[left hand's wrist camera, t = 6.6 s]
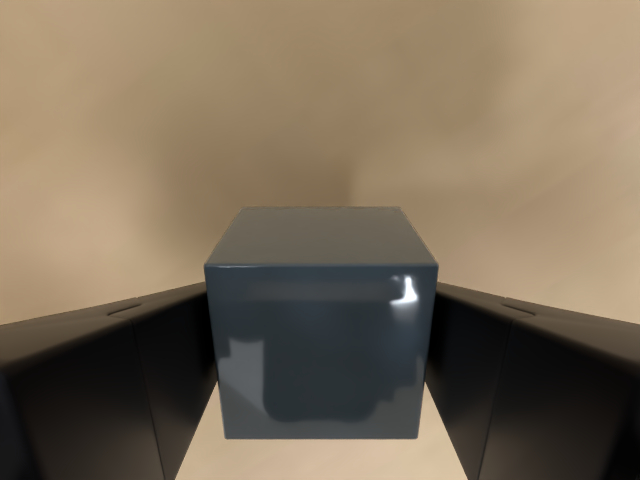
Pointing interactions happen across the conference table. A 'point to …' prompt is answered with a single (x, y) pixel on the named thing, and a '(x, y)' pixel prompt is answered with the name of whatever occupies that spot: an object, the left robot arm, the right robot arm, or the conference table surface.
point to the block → (321, 323)
